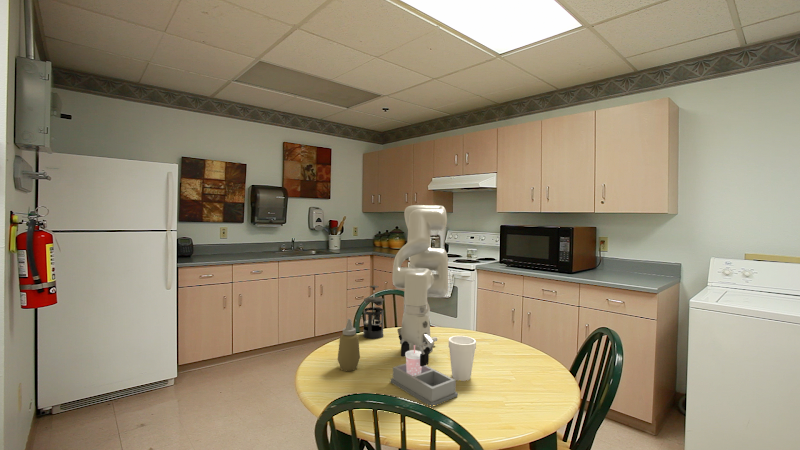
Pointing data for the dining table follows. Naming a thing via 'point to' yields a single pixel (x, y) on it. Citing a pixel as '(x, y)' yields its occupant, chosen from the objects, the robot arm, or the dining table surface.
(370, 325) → the french press
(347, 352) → the squeeze bottle
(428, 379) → the compartment organizer caddy
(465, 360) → the foam cup
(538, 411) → the dining table surface
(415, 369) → the beverage cup
